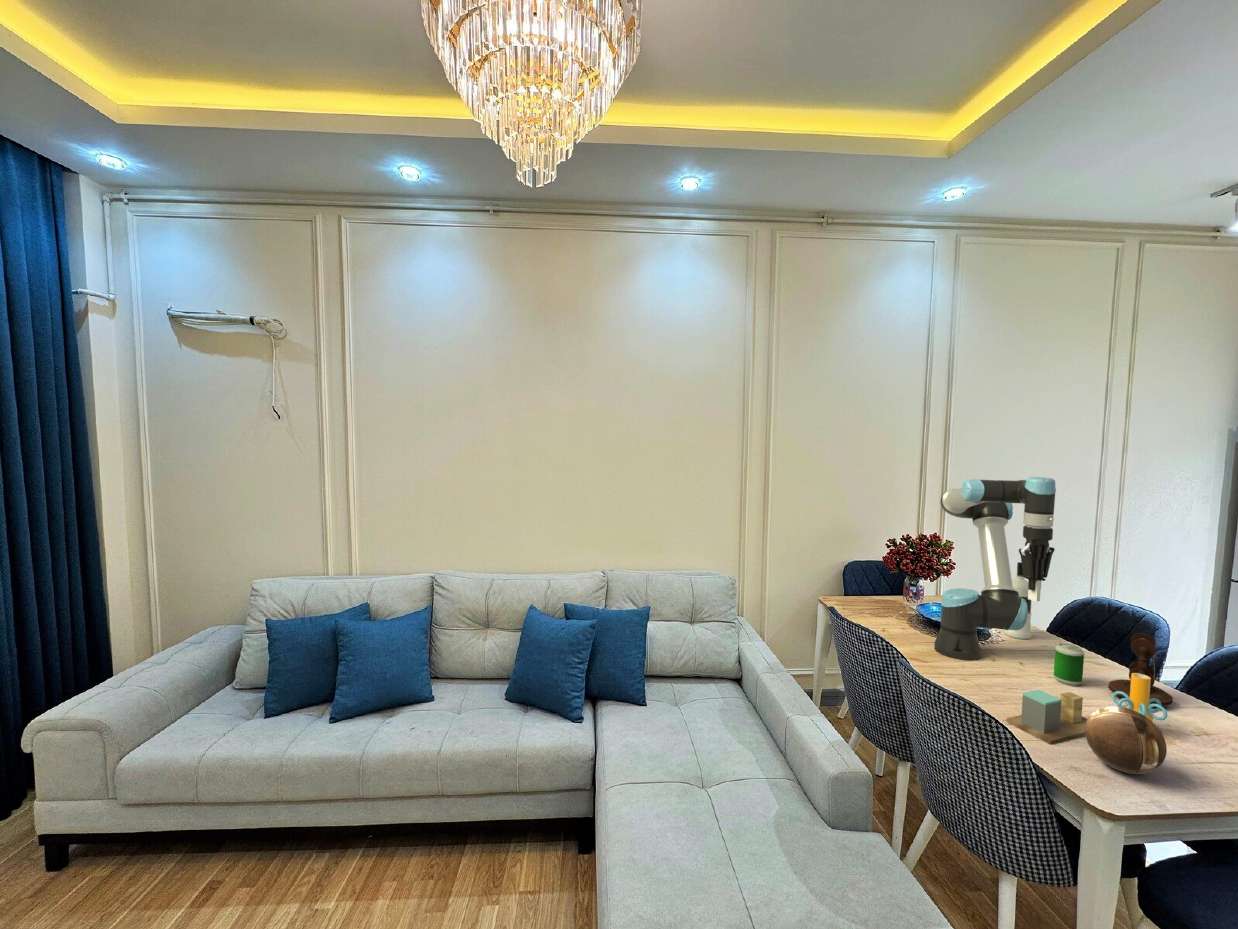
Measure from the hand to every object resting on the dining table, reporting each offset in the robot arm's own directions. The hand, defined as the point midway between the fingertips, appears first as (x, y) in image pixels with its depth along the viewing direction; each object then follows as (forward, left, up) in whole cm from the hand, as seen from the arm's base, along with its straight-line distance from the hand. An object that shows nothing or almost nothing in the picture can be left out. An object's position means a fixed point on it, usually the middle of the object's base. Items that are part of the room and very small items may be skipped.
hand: (1033, 600), depth 178 cm
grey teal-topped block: (+18, -21, -28) cm, 40 cm away
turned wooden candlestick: (+15, +27, -30) cm, 43 cm away
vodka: (-35, +43, -30) cm, 63 cm away
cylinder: (+26, +6, -30) cm, 40 cm away
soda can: (0, +18, -30) cm, 35 cm away
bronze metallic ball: (+37, -20, -30) cm, 51 cm away
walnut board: (+18, -15, -29) cm, 38 cm away
